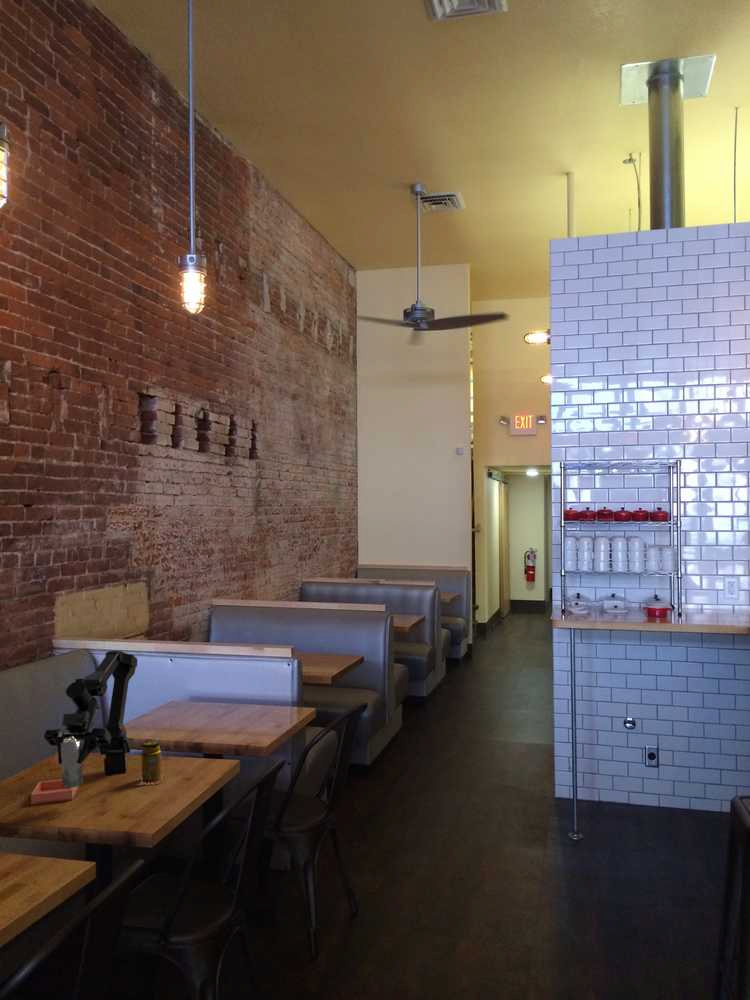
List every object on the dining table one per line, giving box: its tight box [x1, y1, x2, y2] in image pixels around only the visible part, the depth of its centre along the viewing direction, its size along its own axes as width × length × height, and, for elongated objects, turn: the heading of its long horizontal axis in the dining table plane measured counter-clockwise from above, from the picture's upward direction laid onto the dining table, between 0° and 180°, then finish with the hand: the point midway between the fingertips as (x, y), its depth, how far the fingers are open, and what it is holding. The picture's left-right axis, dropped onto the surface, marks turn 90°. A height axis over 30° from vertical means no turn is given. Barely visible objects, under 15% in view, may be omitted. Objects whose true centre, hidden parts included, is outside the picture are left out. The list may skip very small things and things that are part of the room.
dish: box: [30, 778, 80, 806], centre depth 240 cm, size 12×12×3 cm
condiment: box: [136, 740, 163, 786], centre depth 250 cm, size 7×8×12 cm
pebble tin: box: [61, 736, 84, 788], centre depth 230 cm, size 6×6×14 cm
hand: (69, 763), depth 229 cm, fingers closed on pebble tin, 6 cm apart
